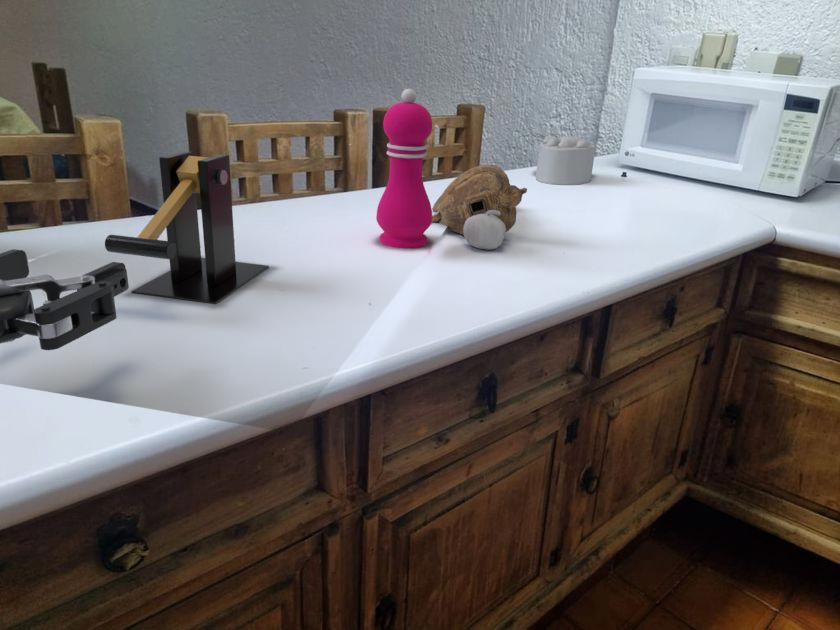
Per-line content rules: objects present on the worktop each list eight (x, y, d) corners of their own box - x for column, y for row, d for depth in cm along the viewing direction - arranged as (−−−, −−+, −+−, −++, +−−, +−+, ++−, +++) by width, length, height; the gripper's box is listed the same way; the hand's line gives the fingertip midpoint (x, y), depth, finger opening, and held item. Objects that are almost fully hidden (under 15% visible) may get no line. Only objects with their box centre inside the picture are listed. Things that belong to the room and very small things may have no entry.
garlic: (512, 247, 90) (516, 209, 88) (494, 256, 85) (498, 216, 83) (473, 239, 93) (476, 202, 91) (454, 247, 88) (457, 209, 86)
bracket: (216, 314, 63) (205, 169, 58) (132, 303, 65) (114, 161, 59) (269, 276, 74) (264, 151, 69) (196, 267, 76) (186, 145, 70)
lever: (171, 266, 57) (162, 245, 55) (110, 259, 58) (99, 238, 57) (233, 179, 66) (227, 158, 64) (179, 174, 67) (171, 153, 65)
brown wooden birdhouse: (410, 189, 91) (514, 156, 86) (445, 161, 113) (530, 134, 108) (432, 256, 94) (534, 228, 89) (462, 216, 116) (546, 192, 111)
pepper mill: (436, 245, 89) (444, 89, 81) (423, 260, 82) (431, 92, 75) (384, 239, 90) (388, 85, 83) (368, 253, 84) (371, 88, 76)
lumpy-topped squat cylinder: (596, 179, 142) (602, 138, 139) (569, 187, 132) (575, 143, 129) (553, 172, 148) (557, 132, 144) (524, 179, 138) (529, 137, 135)
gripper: (-44, 309, 32) (151, 229, 47) (-271, 275, 35) (-19, 210, 49) (-13, 440, 35) (162, 326, 50) (-225, 400, 38) (1, 303, 52)
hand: (72, 268), depth 50 cm, fingers open, 8 cm apart
